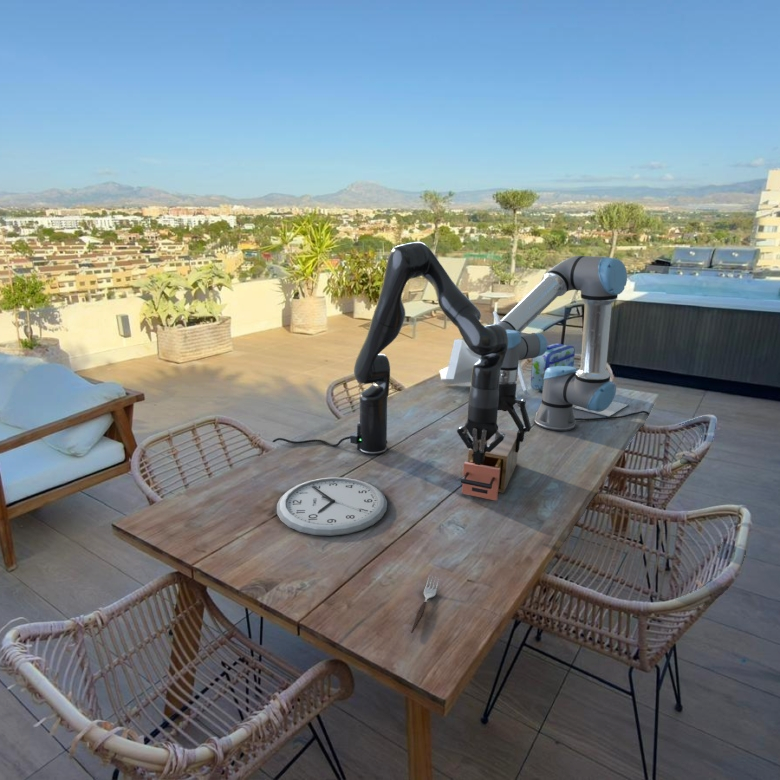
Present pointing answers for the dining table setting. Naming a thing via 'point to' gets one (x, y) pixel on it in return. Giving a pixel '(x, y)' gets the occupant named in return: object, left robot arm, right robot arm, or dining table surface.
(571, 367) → the right robot arm
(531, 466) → the dining table surface
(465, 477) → the drawer
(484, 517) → the dining table surface
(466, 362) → the white plastic object
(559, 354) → the lunch box
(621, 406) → the invitation card
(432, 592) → the fork
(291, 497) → the wall clock
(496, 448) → the cabinet
